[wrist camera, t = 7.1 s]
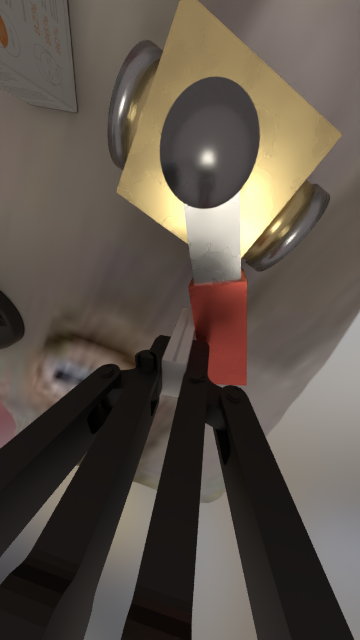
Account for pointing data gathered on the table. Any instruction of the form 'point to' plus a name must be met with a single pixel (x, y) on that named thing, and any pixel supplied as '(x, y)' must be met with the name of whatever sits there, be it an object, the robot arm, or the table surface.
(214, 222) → the lever
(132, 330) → the table surface
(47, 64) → the small box
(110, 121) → the pipe
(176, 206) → the valve body
